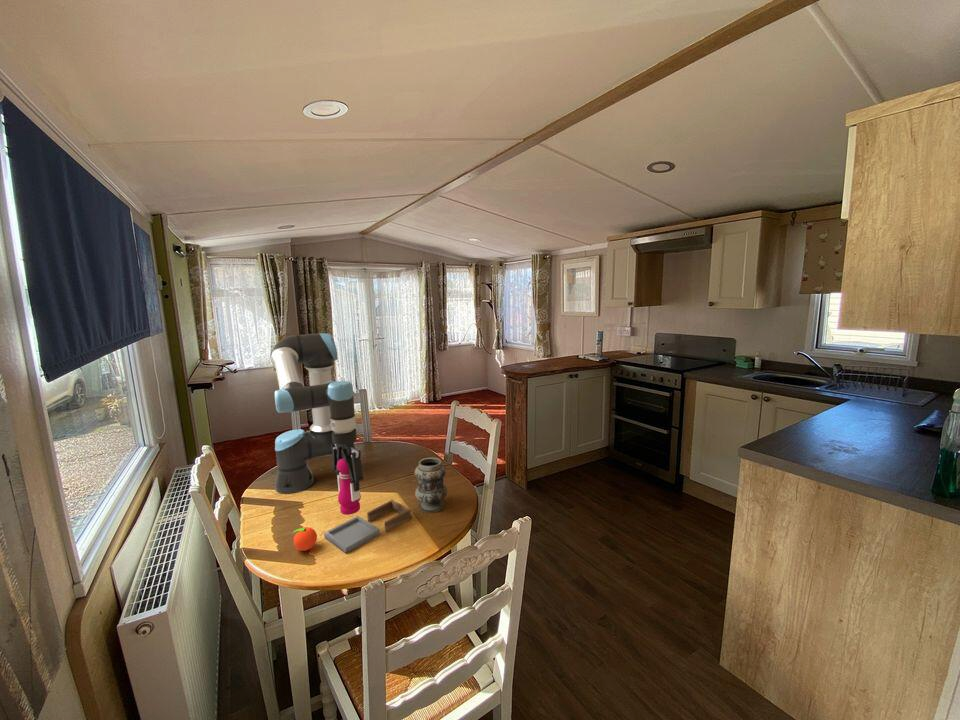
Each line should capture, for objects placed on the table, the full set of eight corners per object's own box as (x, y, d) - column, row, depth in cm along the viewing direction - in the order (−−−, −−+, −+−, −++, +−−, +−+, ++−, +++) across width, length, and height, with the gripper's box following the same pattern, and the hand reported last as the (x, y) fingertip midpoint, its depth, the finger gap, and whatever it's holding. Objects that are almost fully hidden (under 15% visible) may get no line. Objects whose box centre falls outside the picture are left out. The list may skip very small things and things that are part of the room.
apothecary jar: (444, 495, 160) (442, 453, 157) (450, 511, 149) (449, 466, 146) (414, 500, 157) (412, 457, 154) (418, 516, 145) (415, 470, 142)
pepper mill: (361, 513, 130) (357, 455, 127) (338, 517, 128) (333, 458, 125) (361, 502, 137) (357, 447, 134) (339, 506, 135) (334, 450, 132)
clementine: (287, 555, 125) (285, 535, 124) (297, 542, 132) (295, 522, 131) (312, 555, 125) (310, 534, 124) (321, 541, 132) (319, 522, 131)
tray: (324, 538, 134) (324, 532, 134) (358, 520, 144) (357, 515, 143) (345, 553, 126) (345, 548, 125) (380, 534, 135) (379, 528, 135)
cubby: (367, 521, 143) (367, 512, 143) (392, 508, 152) (392, 499, 151) (386, 532, 136) (386, 523, 136) (411, 518, 145) (411, 509, 144)
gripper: (317, 426, 132) (323, 491, 136) (350, 439, 119) (356, 510, 123) (337, 420, 137) (343, 482, 141) (372, 432, 125) (376, 500, 129)
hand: (349, 495), depth 132 cm, fingers closed on pepper mill, 7 cm apart
